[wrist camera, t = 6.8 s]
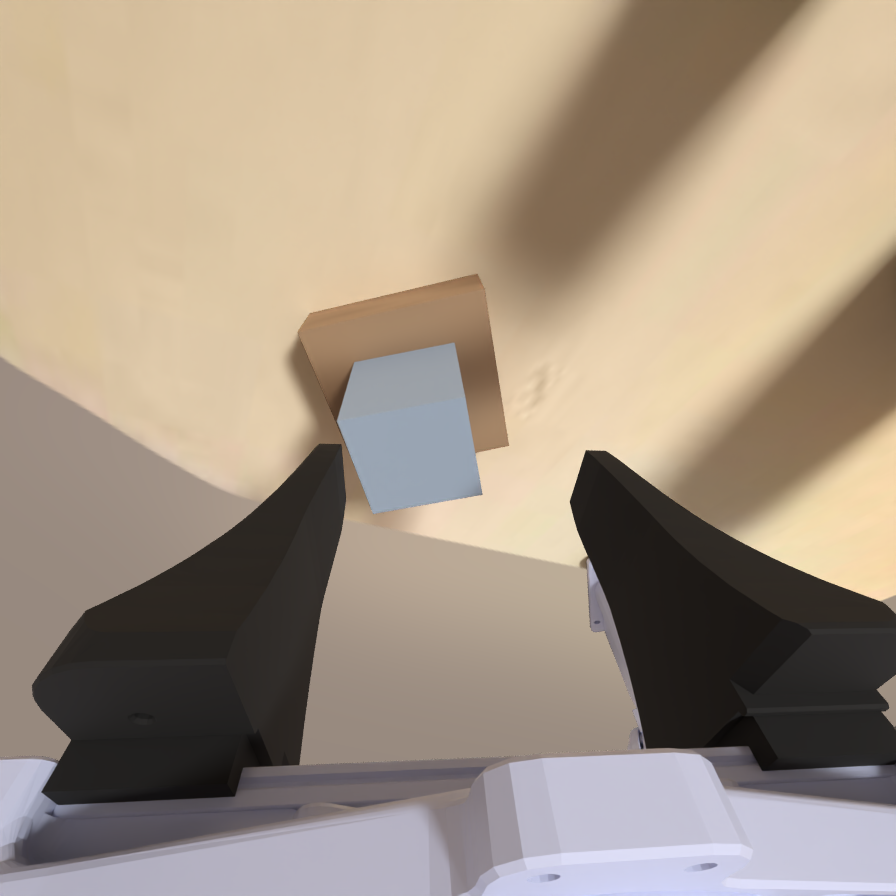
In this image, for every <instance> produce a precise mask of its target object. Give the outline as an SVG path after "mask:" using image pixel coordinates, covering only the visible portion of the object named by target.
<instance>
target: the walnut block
mask: <svg viewBox="0 0 896 896" xmlns="http://www.w3.org/2000/svg"><path fill="white" fill-rule="evenodd" d="M298 335H299V337H300V339H301V342H302V344H303V346H304V349H305V351H306V353H307V356H308V358H309V360H310V363H311V365H312V367H313V370H314V372H315V374H316V377H317V379H318V381H319V384H320V386H321V388H322V391H323V393H324V395H325V398H326V400H327V402H328V405H329V407H330V409H331V412H332V414H333V416H334V419H335V421H336V423H337V419H338V416H339V412H340V409H341V406H342V402H343V399H344V395H345V392H346V389H347V385H348V382H349V378H350V375H351V371H352V368H353V365H354V362H358V361H363V360H368V359H373V358H378V357H383V356H388V355H393V354H398V353H404V352H409V351H414V350H419V349H424V348H429V347H434V346H439V345H445V344H450V343H455V348H456V353H457V358H458V363H459V368H460V373H461V378H462V383H463V388H464V393H465V398H466V404H467V410H468V415H469V421H470V427H471V432H472V438H473V444H474V449H475V453H476V452H481V451H486V450H491V449H495V448H500V447H505V446H509V443H508V437H507V430H506V424H505V417H504V411H503V404H502V398H501V392H500V385H499V379H498V372H497V366H496V360H495V353H494V347H493V340H492V334H491V327H490V321H489V315H488V308H487V302H486V295H485V289H484V287H483V285H482V283H481V280H480V278H479V276H478V274H475V275H470V276H466V277H462V278H458V279H453V280H449V281H445V282H441V283H436V284H432V285H428V286H424V287H419V288H415V289H411V290H407V291H402V292H398V293H394V294H390V295H385V296H381V297H377V298H373V299H368V300H364V301H360V302H356V303H352V304H347V305H343V306H339V307H335V308H330V309H326V310H322V311H318V312H313V313H310V314H309V316H308V317H307V319H306V320H305V322H304V323H303V325H302V326H301V328H300V329H299V331H298ZM337 426H338V428H339V425H338V423H337ZM339 430H340V428H339ZM340 433H341V430H340ZM341 435H342V433H341ZM342 437H343V435H342ZM343 440H344V438H343ZM344 442H345V440H344ZM345 444H346V443H345ZM346 447H347V446H346ZM347 449H348V448H347ZM349 454H350V453H349Z"/></svg>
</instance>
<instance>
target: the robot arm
mask: <svg viewBox="0 0 896 896" xmlns="http://www.w3.org/2000/svg"><path fill="white" fill-rule="evenodd" d="M345 502H346V493H345V481H344V470H343V458H342V446H341V444H319V445H318V446H317V447H316V448H315V449H314V450H313V451H312V452H311V453H310V454H309V456H308V457H307V458H306V459H305V460H304V461H303V462H302V464H301V465H300V466H299V467H298V468H297V469H296V470H295V471H294V472H293V473H292V474H291V475H290V477H289V478H288V479H287V480H286V481H285V482H284V483H283V484H282V485H281V486H280V487H279V488H278V489H277V490H276V491H275V492H274V493H273V494H272V495H271V496H269V497H268V498H267V499H266V500H265V501H264V502H263V503H262V504H261V505H260V506H259V507H258V508H256V509H255V510H254V511H253V512H252V513H251V514H250V515H248V516H247V517H246V518H245V519H243V521H241V522H240V523H238V524H237V525H236V526H235V527H233V528H232V529H231V530H229V531H228V532H227V533H225V534H224V535H222V536H221V537H219V538H218V539H216V540H215V541H213V542H212V543H210V544H209V545H207V546H206V547H204V548H203V549H201V550H200V551H198V552H197V553H195V554H194V555H192V556H191V557H189V558H187V559H186V560H184V561H182V562H181V563H179V564H177V565H175V566H174V567H172V568H170V569H168V570H167V571H165V572H163V573H161V574H160V575H158V576H156V577H154V578H152V579H150V580H148V581H146V582H145V583H143V584H141V585H139V586H137V587H135V588H133V589H131V590H129V591H126V592H124V593H122V594H120V595H118V596H116V597H114V598H112V599H110V600H108V601H106V602H104V603H101V604H99V605H97V606H95V607H93V608H91V609H89V610H86V611H85V613H84V614H83V615H82V617H81V618H80V619H79V620H78V621H77V623H76V624H75V625H74V626H73V628H72V629H71V630H70V631H69V633H68V634H67V636H66V637H65V639H64V640H63V641H62V643H61V644H60V646H59V647H58V649H57V650H56V652H55V653H54V654H53V656H52V657H51V658H50V660H49V661H48V663H47V664H46V666H45V667H44V669H43V670H42V671H41V673H40V674H39V676H38V677H37V679H36V680H35V682H34V683H33V685H32V691H33V697H34V700H35V701H36V703H37V704H38V706H39V707H40V709H41V710H42V711H43V712H44V713H45V714H46V715H47V716H48V717H49V718H50V719H51V720H52V721H53V722H54V723H55V724H56V725H57V726H58V727H59V728H60V729H61V730H62V731H63V732H64V733H65V734H66V735H67V736H68V737H69V738H70V739H71V742H70V744H69V745H68V747H67V749H66V751H65V752H64V754H63V756H62V757H61V759H60V761H58V760H56V759H53V758H49V757H44V756H16V757H0V896H896V726H895V727H893V725H892V724H891V723H890V722H889V721H888V719H887V718H886V717H885V716H884V715H883V713H882V712H881V711H886V710H888V709H889V705H888V703H887V702H886V700H885V699H884V698H883V697H882V696H881V695H880V693H879V692H878V691H877V690H876V689H878V688H879V687H880V686H882V685H883V684H884V683H885V682H887V681H888V680H889V679H891V678H892V677H893V676H894V675H896V614H895V613H894V612H893V611H892V610H891V609H890V608H889V607H888V606H887V605H886V604H884V603H883V602H880V601H878V600H875V599H872V598H870V597H867V596H864V595H861V594H859V593H856V592H853V591H851V590H848V589H845V588H842V587H840V586H837V585H834V584H832V583H829V582H826V581H824V580H821V579H819V578H817V577H814V576H812V575H810V574H807V573H805V572H803V571H800V570H798V569H795V568H793V567H791V566H789V565H786V564H784V563H782V562H780V561H778V560H776V559H773V558H771V557H769V556H767V555H765V554H763V553H761V552H759V551H757V550H755V549H753V548H751V547H749V546H747V545H745V544H743V543H742V542H740V541H738V540H736V539H734V538H732V537H730V536H729V535H727V534H725V533H724V532H722V531H720V530H718V529H717V528H715V527H713V526H712V525H710V524H708V523H706V522H705V521H703V520H702V519H700V518H698V517H697V516H695V515H694V514H692V513H691V512H689V511H688V510H686V509H685V508H683V507H682V506H680V505H679V504H677V503H676V502H675V501H673V500H672V499H670V498H669V497H667V496H666V495H665V494H663V493H662V492H661V491H659V490H658V489H657V488H655V487H654V486H652V485H651V484H650V483H648V482H647V481H646V480H645V479H643V478H642V477H641V476H639V475H638V474H637V473H635V472H634V471H633V470H631V469H630V468H629V467H628V466H626V465H625V464H624V463H622V462H621V461H620V460H618V459H617V458H615V457H614V456H613V455H611V454H610V453H608V452H606V451H589V450H586V452H585V455H584V458H583V461H582V464H581V468H580V471H579V474H578V477H577V480H576V484H575V487H574V490H573V493H572V496H571V499H570V505H571V509H572V513H573V517H574V520H575V524H576V527H577V531H578V533H579V536H580V538H581V541H582V543H583V545H584V548H585V550H586V553H587V555H588V557H589V558H588V559H587V578H588V597H589V613H590V614H589V615H590V627H591V630H592V631H593V632H600V631H605V633H606V636H607V639H608V641H609V644H610V646H611V649H612V651H613V654H614V657H615V659H616V662H617V664H618V667H619V669H620V672H621V674H622V677H623V680H624V682H625V685H626V687H627V690H628V693H629V695H630V697H631V699H632V701H633V703H634V705H635V706H636V709H633V714H634V717H635V719H636V722H637V724H638V727H637V728H634V729H633V730H632V731H631V733H630V736H629V744H628V750H610V751H586V752H564V753H542V754H541V753H540V754H532V755H525V756H504V757H481V758H457V759H435V760H411V761H387V762H365V763H364V762H363V763H340V764H316V765H299V762H300V754H301V746H302V737H303V729H304V721H305V714H306V707H307V699H308V692H309V684H310V677H311V670H312V664H313V657H314V650H315V643H316V637H317V631H318V624H319V619H320V613H321V608H322V603H323V598H324V595H325V591H326V587H327V583H328V580H329V576H330V572H331V568H332V565H333V561H334V557H335V553H336V550H337V546H338V542H339V538H340V535H341V531H342V525H343V518H344V510H345Z"/></svg>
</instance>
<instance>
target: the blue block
mask: <svg viewBox="0 0 896 896" xmlns="http://www.w3.org/2000/svg"><path fill="white" fill-rule="evenodd" d="M337 423H338V425H339V428H340V430H341V433H342V435H343V438H344V440H345V443H346V446H347V448H348V451H349V453H350V456H351V458H352V461H353V464H354V466H355V469H356V471H357V474H358V476H359V479H360V482H361V484H362V487H363V489H364V492H365V494H366V497H367V500H368V502H369V505H370V507H371V510H372V512H373V514H375V513H381V512H387V511H392V510H398V509H404V508H409V507H415V506H421V505H426V504H432V503H438V502H443V501H449V500H455V499H461V498H466V497H472V496H478V495H482V489H481V483H480V478H479V472H478V466H477V461H476V455H475V449H474V444H473V438H472V432H471V427H470V421H469V415H468V410H467V404H466V398H465V393H464V388H463V383H462V378H461V373H460V368H459V363H458V358H457V353H456V348H455V343H450V344H445V345H439V346H434V347H429V348H424V349H419V350H414V351H409V352H404V353H398V354H393V355H388V356H383V357H378V358H373V359H368V360H363V361H358V362H354V365H353V368H352V371H351V375H350V378H349V382H348V385H347V389H346V392H345V395H344V399H343V402H342V406H341V409H340V412H339V416H338V419H337Z"/></svg>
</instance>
